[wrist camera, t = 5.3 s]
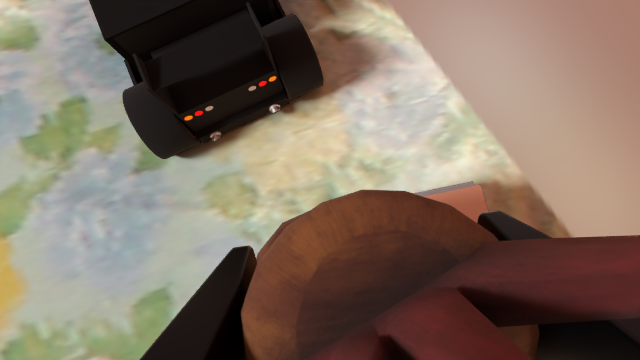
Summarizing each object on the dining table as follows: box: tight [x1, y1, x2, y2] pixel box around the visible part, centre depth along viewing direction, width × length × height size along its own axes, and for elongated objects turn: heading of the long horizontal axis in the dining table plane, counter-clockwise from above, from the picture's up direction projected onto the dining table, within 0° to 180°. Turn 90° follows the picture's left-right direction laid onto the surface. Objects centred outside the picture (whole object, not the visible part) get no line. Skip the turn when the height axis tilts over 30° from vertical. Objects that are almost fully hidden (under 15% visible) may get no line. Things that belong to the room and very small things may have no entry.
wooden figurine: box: [240, 190, 640, 360], centre depth 9 cm, size 7×6×15 cm
